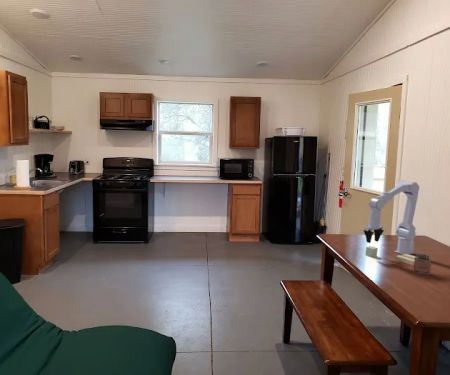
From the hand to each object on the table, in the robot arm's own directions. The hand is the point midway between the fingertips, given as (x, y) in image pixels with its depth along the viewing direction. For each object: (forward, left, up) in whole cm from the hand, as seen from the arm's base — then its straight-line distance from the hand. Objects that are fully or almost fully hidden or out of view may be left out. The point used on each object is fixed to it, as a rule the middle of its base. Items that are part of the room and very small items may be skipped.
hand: (372, 241), depth 227 cm
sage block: (0, 0, -8) cm, 8 cm away
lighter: (+1, +31, -8) cm, 32 cm away
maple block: (-11, +17, -9) cm, 22 cm away
